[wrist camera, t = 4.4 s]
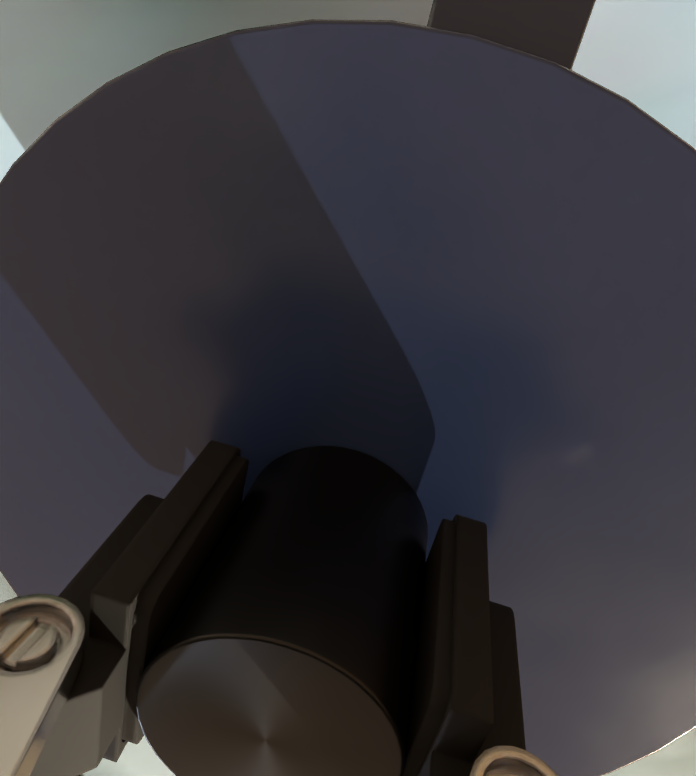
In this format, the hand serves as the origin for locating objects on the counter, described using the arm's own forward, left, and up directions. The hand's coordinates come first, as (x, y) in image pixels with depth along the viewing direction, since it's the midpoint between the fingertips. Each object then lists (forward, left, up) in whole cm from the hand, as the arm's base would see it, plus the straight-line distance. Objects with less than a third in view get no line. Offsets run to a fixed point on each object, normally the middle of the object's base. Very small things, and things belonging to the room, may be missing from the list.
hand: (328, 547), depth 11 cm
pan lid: (0, 0, -1) cm, 1 cm away
